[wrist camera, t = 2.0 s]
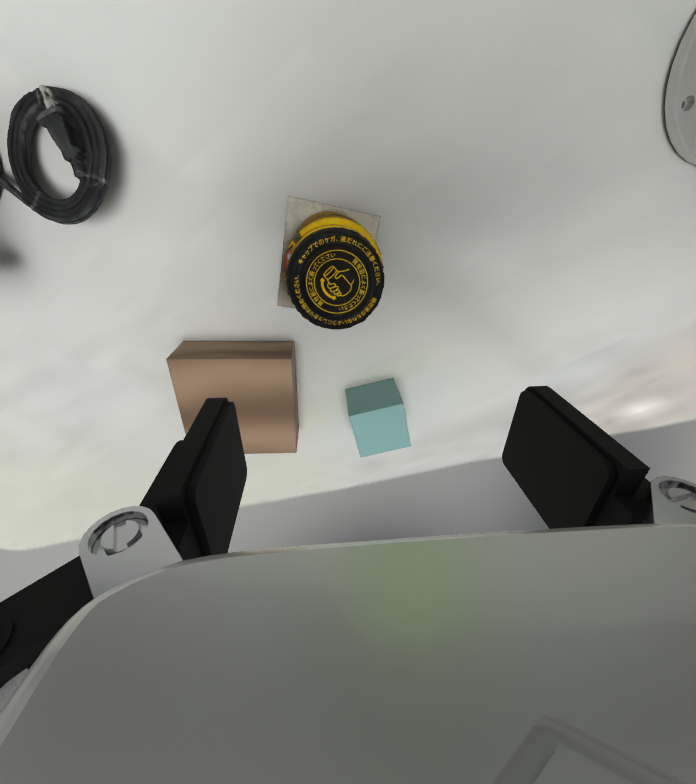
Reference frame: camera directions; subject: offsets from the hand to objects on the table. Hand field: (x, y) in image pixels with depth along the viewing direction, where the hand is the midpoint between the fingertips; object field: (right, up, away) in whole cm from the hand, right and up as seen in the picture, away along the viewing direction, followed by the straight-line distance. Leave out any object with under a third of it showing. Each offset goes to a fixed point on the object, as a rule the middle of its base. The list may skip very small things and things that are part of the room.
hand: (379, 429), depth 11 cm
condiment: (-3, +12, +17) cm, 21 cm away
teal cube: (+2, 0, +25) cm, 25 cm away
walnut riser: (-11, +2, +23) cm, 25 cm away
